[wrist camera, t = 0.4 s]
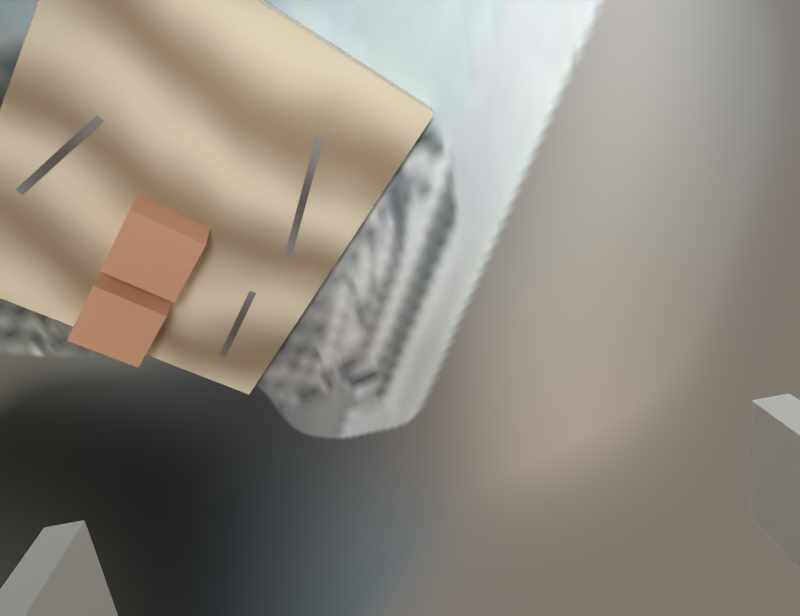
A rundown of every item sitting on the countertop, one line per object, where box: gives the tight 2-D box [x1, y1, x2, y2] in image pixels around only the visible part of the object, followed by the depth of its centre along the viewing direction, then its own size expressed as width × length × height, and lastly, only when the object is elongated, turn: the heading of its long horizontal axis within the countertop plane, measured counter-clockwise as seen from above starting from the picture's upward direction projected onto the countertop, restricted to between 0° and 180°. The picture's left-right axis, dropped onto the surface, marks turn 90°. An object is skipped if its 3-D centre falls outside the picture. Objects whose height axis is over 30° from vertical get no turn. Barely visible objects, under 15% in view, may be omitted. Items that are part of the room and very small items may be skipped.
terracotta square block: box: [100, 194, 210, 302], centre depth 35 cm, size 4×4×2 cm
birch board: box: [0, 0, 434, 394], centre depth 35 cm, size 21×18×1 cm
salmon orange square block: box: [67, 271, 171, 367], centre depth 37 cm, size 4×4×2 cm
